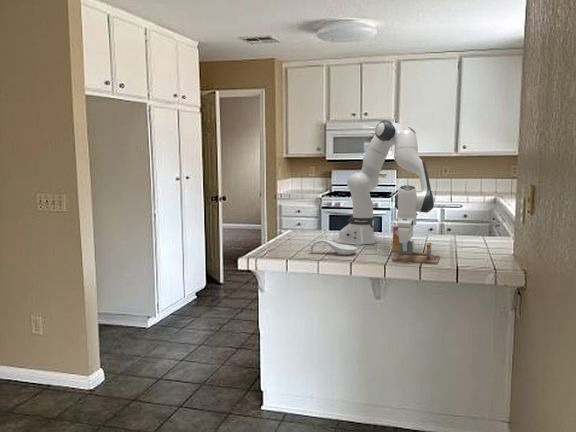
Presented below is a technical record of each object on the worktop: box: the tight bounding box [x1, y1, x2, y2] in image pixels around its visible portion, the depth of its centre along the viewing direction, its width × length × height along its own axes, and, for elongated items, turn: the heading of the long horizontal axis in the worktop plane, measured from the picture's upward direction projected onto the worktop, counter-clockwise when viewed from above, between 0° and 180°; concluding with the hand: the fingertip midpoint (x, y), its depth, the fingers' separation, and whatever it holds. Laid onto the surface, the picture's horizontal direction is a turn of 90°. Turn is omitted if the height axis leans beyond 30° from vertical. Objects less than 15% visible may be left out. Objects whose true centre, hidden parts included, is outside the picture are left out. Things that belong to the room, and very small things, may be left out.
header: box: [391, 242, 441, 265], centre depth 243 cm, size 20×15×8 cm
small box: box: [392, 224, 399, 253], centre depth 264 cm, size 8×6×13 cm
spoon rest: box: [308, 238, 358, 256], centre depth 258 cm, size 24×12×7 cm, turn 81°
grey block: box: [398, 240, 415, 256], centre depth 245 cm, size 6×5×6 cm
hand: (406, 249), depth 245 cm, fingers closed on grey block, 5 cm apart
